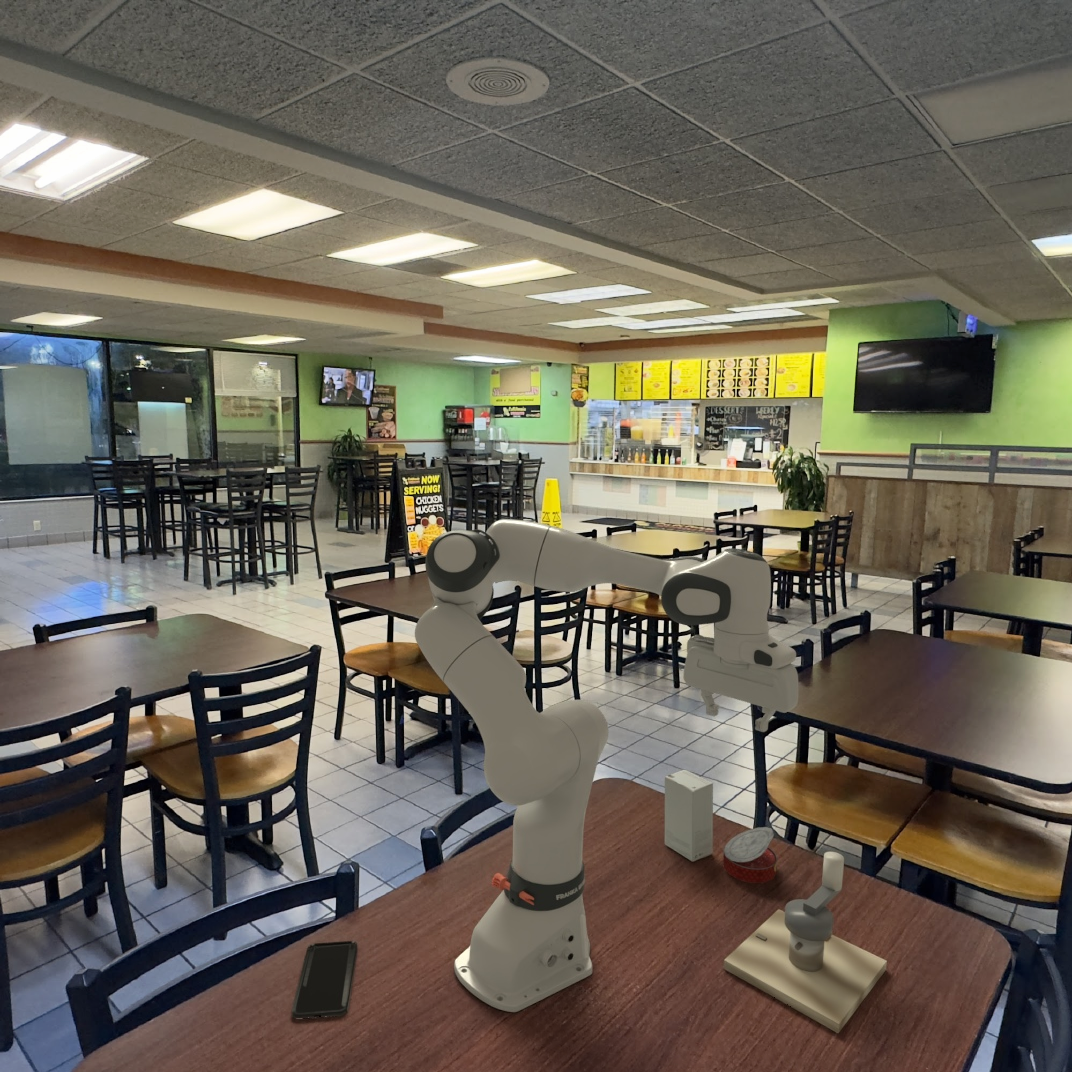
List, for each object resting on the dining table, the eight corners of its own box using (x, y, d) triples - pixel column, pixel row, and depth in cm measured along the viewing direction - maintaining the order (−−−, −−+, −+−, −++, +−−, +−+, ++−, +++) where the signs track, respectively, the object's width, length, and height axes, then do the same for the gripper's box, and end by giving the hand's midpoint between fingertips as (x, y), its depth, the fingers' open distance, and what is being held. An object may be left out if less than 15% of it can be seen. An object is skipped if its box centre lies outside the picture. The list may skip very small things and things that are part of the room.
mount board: (838, 1033, 106) (841, 988, 105) (723, 968, 118) (726, 927, 117) (886, 969, 119) (889, 928, 118) (778, 917, 131) (780, 879, 130)
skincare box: (713, 854, 150) (716, 783, 148) (691, 863, 147) (694, 791, 145) (682, 835, 157) (686, 767, 155) (661, 843, 154) (664, 774, 152)
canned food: (759, 907, 142) (753, 875, 137) (715, 877, 149) (707, 846, 144) (793, 862, 147) (787, 830, 142) (748, 836, 154) (741, 804, 149)
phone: (358, 940, 122) (347, 1010, 108) (358, 946, 123) (347, 1017, 108) (307, 943, 121) (289, 1015, 107) (307, 950, 122) (289, 1022, 107)
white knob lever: (776, 925, 118) (779, 876, 116) (813, 890, 127) (817, 844, 126) (820, 947, 113) (824, 896, 112) (855, 909, 122) (859, 862, 121)
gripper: (678, 635, 134) (674, 710, 136) (787, 661, 120) (782, 745, 122) (697, 629, 139) (694, 702, 141) (805, 653, 125) (800, 734, 127)
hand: (736, 722), depth 131 cm, fingers open, 8 cm apart
